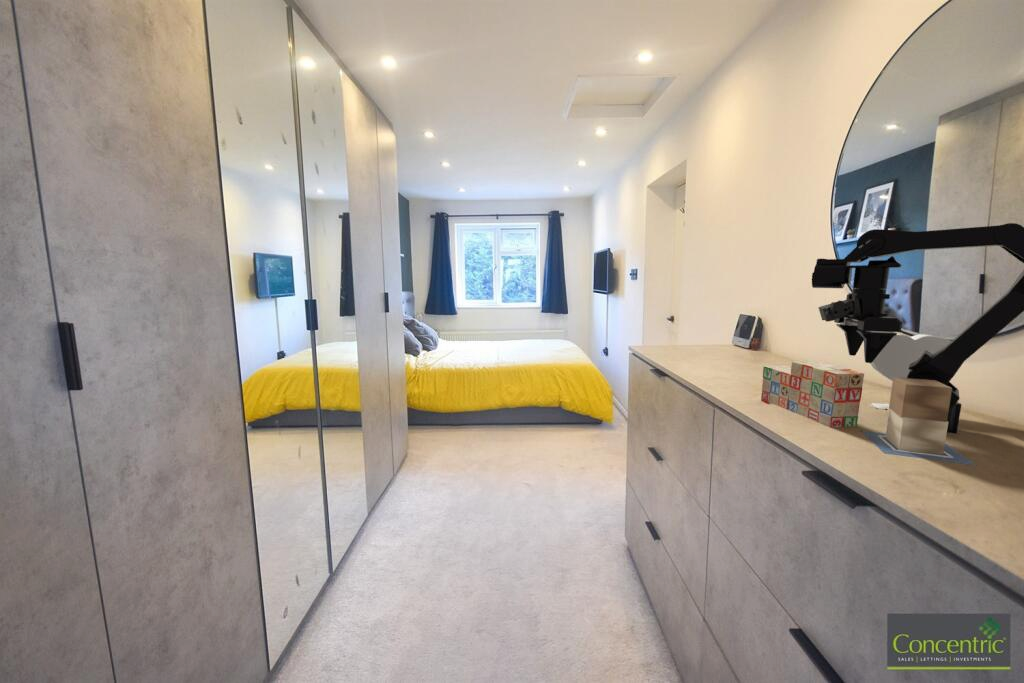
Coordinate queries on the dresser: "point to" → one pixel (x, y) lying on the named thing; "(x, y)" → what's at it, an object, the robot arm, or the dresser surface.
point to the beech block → (916, 434)
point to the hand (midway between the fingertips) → (859, 358)
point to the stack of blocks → (815, 391)
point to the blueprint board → (889, 448)
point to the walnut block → (920, 399)
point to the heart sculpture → (904, 355)
